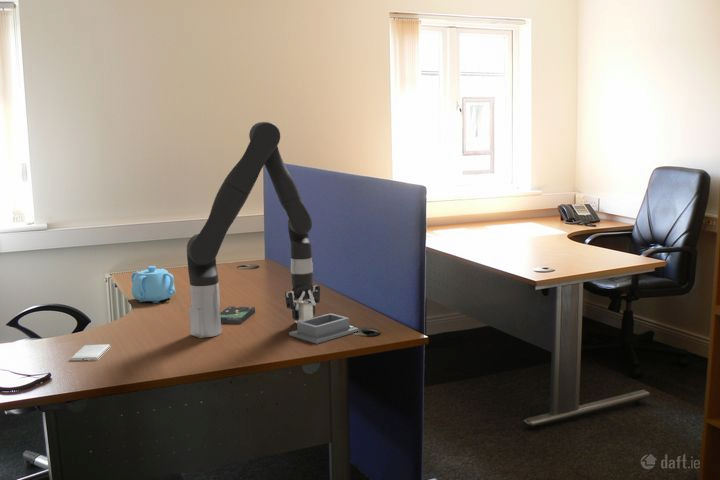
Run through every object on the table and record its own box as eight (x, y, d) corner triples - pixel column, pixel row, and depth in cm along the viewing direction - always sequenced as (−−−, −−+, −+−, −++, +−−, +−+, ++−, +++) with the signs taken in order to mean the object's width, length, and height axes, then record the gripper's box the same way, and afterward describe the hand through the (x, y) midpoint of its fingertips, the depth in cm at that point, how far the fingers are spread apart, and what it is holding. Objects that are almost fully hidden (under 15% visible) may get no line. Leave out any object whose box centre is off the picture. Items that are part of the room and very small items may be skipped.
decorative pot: (133, 307, 288) (130, 272, 286) (131, 297, 303) (129, 264, 301) (176, 302, 293) (174, 268, 291) (172, 293, 308) (170, 261, 306)
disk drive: (228, 313, 276) (214, 324, 262) (228, 306, 276) (213, 316, 261) (255, 314, 274) (242, 324, 260) (255, 306, 274) (241, 317, 259)
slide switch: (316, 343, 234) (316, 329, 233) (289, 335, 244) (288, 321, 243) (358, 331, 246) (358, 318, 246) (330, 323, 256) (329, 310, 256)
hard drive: (84, 345, 236) (69, 357, 224) (110, 344, 237) (97, 356, 224) (84, 350, 237) (70, 362, 224) (110, 349, 237) (97, 361, 225)
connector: (304, 325, 256) (303, 305, 254) (295, 322, 259) (294, 303, 258) (313, 322, 258) (312, 303, 257) (304, 320, 262) (303, 300, 261)
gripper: (311, 266, 263) (312, 312, 266) (278, 272, 254) (280, 320, 256) (325, 268, 258) (326, 315, 261) (292, 275, 248) (294, 324, 251)
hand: (304, 317), depth 258 cm, fingers open, 6 cm apart
